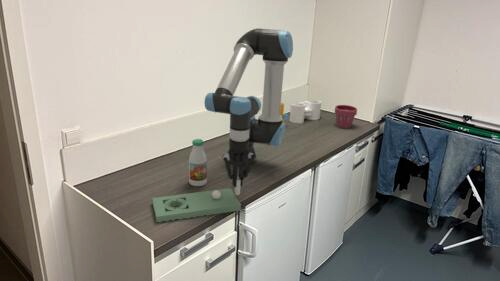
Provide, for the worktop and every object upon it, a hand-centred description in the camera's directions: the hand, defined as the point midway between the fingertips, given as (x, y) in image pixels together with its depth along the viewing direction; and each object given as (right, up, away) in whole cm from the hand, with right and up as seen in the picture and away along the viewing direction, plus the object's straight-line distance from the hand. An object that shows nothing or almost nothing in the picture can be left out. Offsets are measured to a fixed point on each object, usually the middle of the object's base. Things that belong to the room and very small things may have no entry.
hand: (237, 193), depth 153 cm
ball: (-8, 0, -3) cm, 9 cm away
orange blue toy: (+24, +30, +94) cm, 102 cm away
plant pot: (+68, +31, +101) cm, 125 cm away
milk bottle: (-18, +2, +15) cm, 24 cm away
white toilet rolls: (+44, +35, +111) cm, 124 cm away
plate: (-16, -5, -4) cm, 17 cm away
